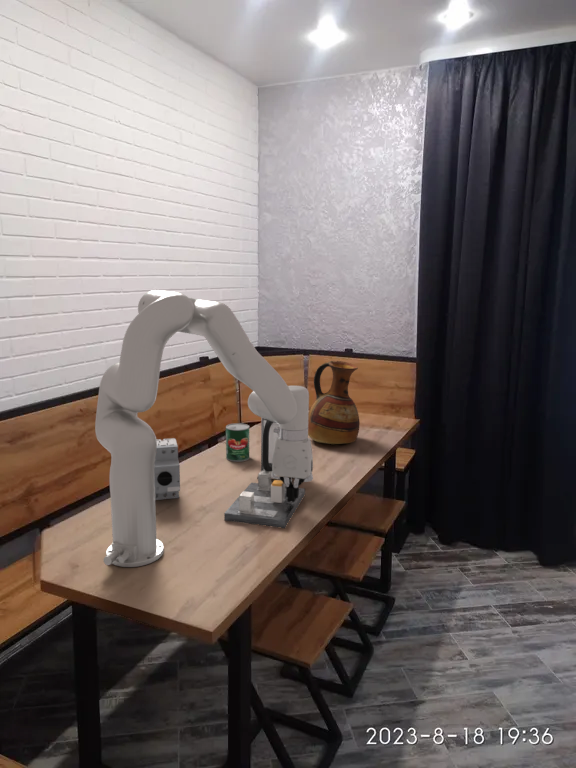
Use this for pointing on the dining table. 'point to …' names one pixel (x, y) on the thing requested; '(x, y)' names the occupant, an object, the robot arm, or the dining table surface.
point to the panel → (262, 505)
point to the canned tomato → (237, 442)
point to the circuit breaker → (166, 470)
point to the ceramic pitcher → (334, 407)
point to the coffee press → (267, 444)
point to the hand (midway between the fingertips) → (292, 499)
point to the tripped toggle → (277, 491)
